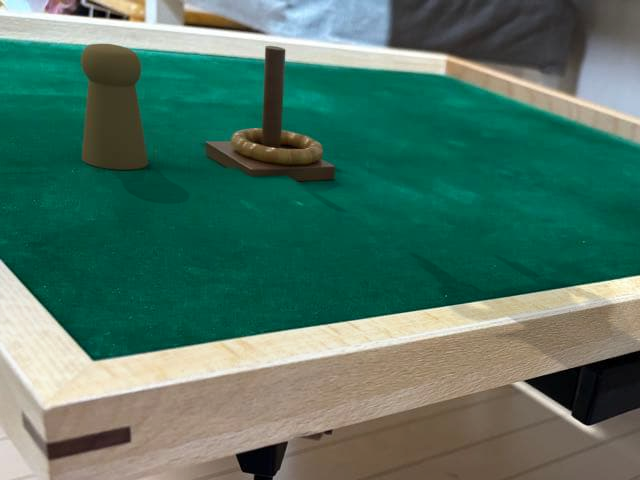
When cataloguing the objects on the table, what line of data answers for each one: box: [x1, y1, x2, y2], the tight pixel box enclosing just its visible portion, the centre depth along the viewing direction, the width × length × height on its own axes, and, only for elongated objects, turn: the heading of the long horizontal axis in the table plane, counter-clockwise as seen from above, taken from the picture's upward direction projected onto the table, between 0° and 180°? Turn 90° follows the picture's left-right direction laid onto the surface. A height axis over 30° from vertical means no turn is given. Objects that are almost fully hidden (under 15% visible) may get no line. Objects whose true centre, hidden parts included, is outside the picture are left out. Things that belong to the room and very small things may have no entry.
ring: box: [230, 128, 324, 165], centre depth 96 cm, size 10×10×2 cm
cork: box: [80, 43, 149, 171], centre depth 86 cm, size 6×6×11 cm
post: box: [205, 45, 336, 182], centre depth 93 cm, size 10×10×12 cm
